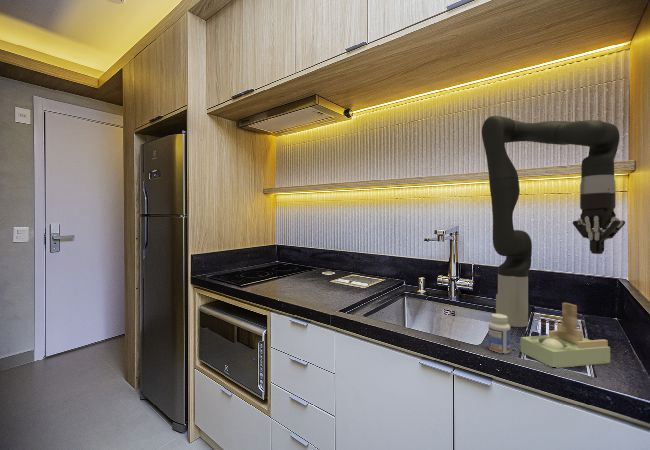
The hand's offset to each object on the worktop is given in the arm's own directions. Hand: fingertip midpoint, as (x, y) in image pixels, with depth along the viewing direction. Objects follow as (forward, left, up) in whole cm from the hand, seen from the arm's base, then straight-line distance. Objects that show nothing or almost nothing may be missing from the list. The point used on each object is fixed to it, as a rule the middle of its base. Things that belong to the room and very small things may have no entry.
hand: (597, 253), depth 87 cm
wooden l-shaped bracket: (+3, -13, -23) cm, 26 cm away
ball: (+3, -18, -24) cm, 30 cm away
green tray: (+3, -15, -27) cm, 31 cm away
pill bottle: (-4, -28, -27) cm, 39 cm away
